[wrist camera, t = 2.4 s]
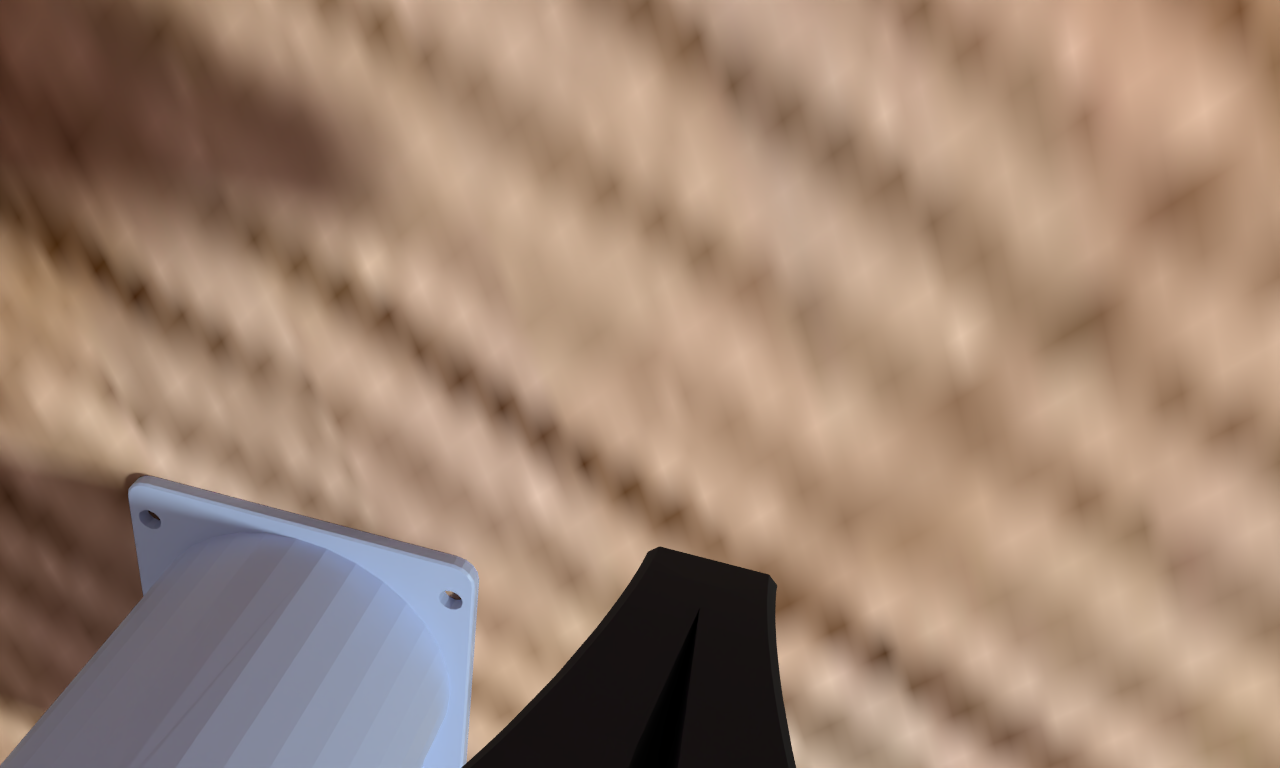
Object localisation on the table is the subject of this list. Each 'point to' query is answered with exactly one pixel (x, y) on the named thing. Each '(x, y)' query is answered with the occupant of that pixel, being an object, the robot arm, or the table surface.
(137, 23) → the table surface
